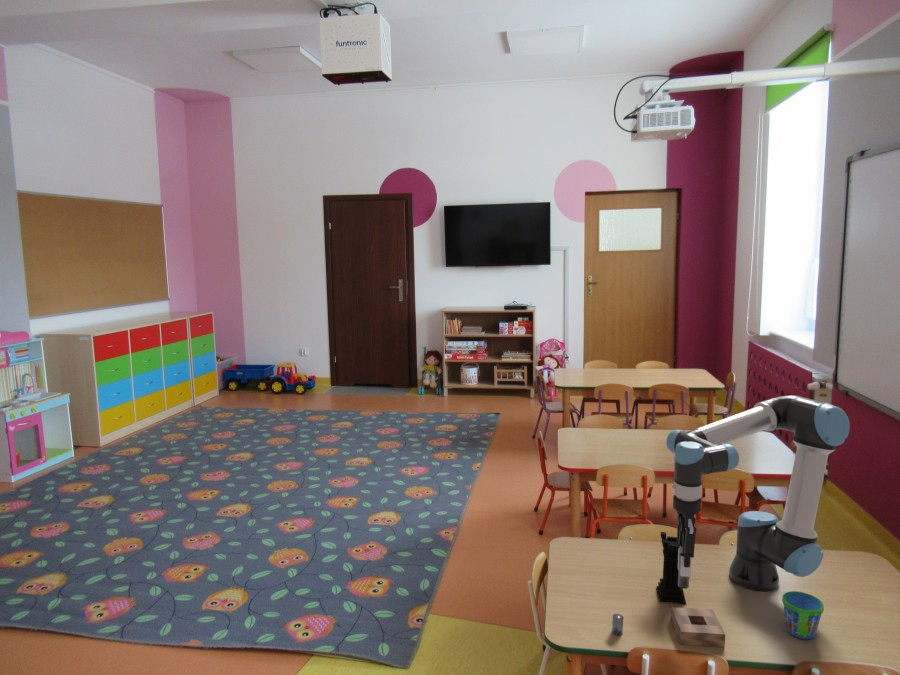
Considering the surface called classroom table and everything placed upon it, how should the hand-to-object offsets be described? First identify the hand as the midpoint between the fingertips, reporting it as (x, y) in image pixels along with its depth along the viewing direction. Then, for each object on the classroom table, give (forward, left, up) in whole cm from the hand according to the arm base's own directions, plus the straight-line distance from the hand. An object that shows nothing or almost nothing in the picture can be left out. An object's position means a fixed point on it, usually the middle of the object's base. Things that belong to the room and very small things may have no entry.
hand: (684, 572), depth 184 cm
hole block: (-4, +2, -18) cm, 19 cm away
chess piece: (-1, -17, -18) cm, 25 cm away
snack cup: (-34, -1, -18) cm, 39 cm away
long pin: (0, 0, -4) cm, 4 cm away
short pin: (+19, +4, -18) cm, 26 cm away
